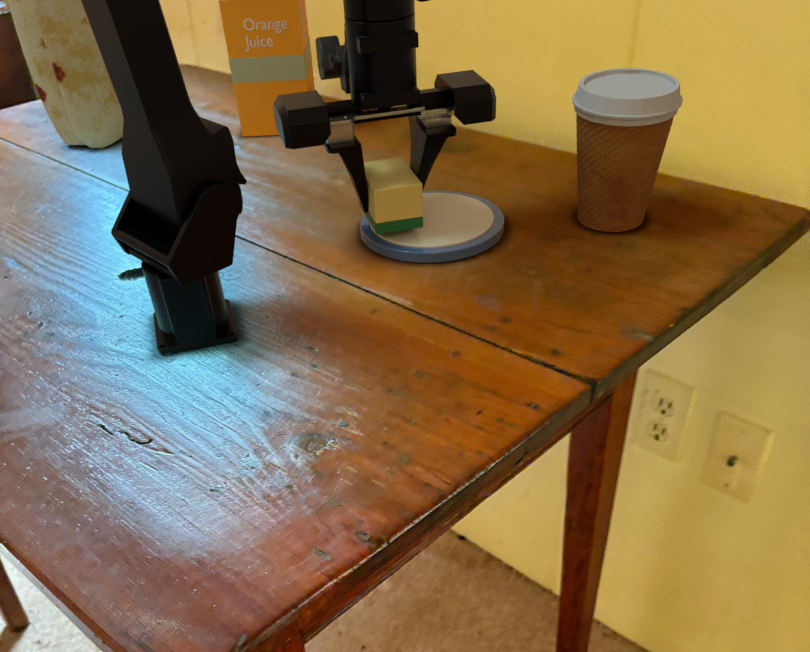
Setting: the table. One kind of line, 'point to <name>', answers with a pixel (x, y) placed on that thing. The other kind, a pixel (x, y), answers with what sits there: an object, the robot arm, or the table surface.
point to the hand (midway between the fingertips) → (390, 207)
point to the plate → (441, 230)
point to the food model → (68, 71)
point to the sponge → (393, 196)
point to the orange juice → (266, 57)
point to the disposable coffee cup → (621, 143)
